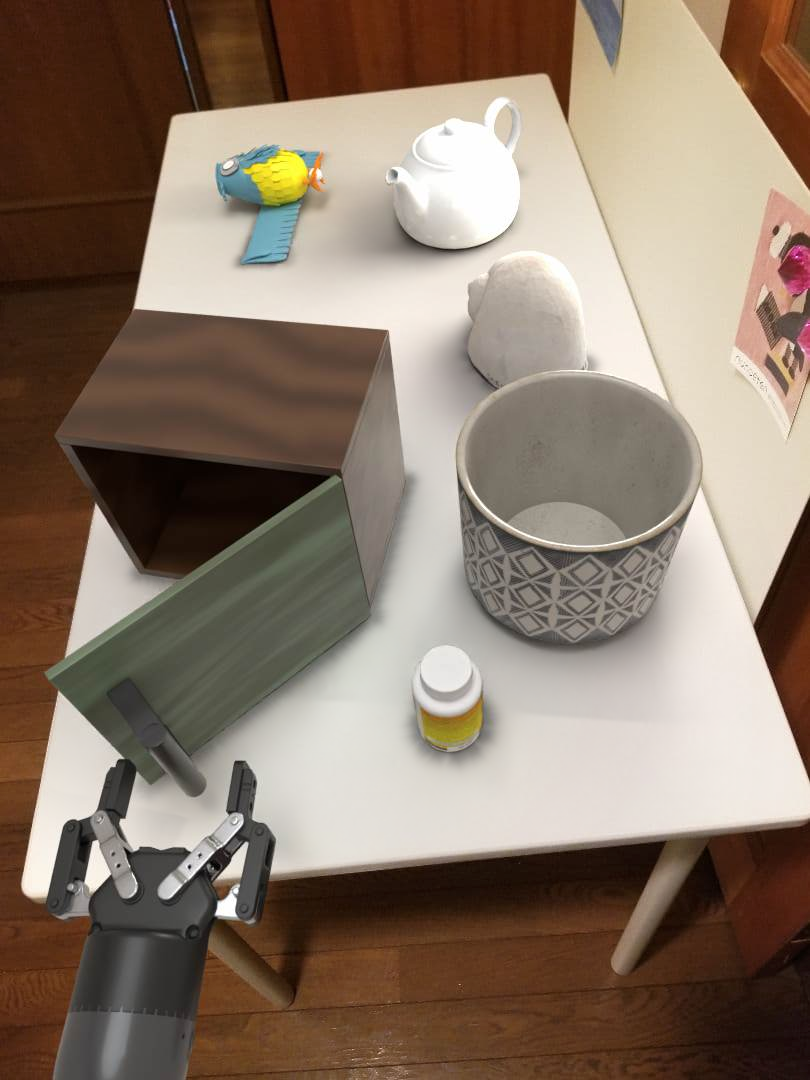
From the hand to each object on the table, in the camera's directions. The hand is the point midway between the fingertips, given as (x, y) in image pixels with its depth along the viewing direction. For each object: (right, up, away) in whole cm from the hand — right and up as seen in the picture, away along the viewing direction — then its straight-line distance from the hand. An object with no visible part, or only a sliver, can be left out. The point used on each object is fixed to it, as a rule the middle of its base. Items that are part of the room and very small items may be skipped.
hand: (184, 763), depth 58 cm
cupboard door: (+5, +1, +12) cm, 13 cm away
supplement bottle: (+20, 0, +11) cm, 23 cm away
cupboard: (+3, +18, +25) cm, 31 cm away
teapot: (+23, +61, +55) cm, 86 cm away
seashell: (+30, +39, +38) cm, 62 cm away
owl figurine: (-3, +65, +60) cm, 89 cm away
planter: (+31, +13, +19) cm, 39 cm away
